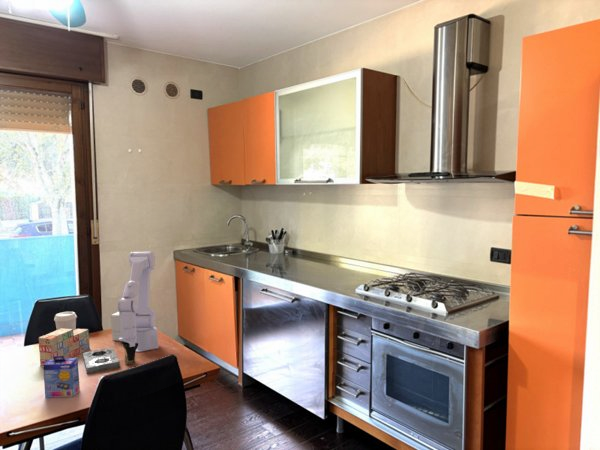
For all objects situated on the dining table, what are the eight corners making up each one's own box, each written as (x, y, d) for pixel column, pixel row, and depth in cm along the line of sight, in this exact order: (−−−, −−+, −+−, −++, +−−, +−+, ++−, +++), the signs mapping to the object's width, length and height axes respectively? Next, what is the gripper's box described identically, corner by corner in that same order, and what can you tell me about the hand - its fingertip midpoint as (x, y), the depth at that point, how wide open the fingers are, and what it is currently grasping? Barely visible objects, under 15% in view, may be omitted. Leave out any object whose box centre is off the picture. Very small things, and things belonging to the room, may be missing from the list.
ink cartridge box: (44, 398, 152) (41, 358, 151) (51, 391, 157) (49, 352, 156) (73, 397, 153) (71, 356, 152) (80, 390, 158) (78, 350, 157)
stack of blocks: (78, 348, 202) (77, 321, 201) (90, 349, 200) (88, 322, 199) (40, 366, 181) (38, 337, 180) (52, 367, 180) (50, 338, 179)
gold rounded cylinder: (134, 360, 185) (133, 344, 185) (136, 363, 182) (135, 347, 181) (124, 362, 183) (123, 346, 183) (126, 365, 180) (125, 349, 179)
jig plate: (113, 352, 195) (112, 347, 194) (119, 367, 178) (119, 361, 178) (83, 358, 188) (82, 352, 188) (87, 374, 172) (86, 367, 172)
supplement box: (134, 336, 217) (133, 311, 216) (125, 341, 210) (124, 315, 209) (121, 335, 218) (120, 310, 217) (111, 340, 211) (110, 314, 210)
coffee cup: (82, 344, 207) (81, 312, 206) (62, 350, 199) (60, 317, 198) (71, 340, 212) (69, 310, 211) (51, 346, 204) (49, 315, 203)
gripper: (115, 323, 186) (117, 355, 187) (121, 333, 173) (122, 366, 174) (133, 320, 189) (134, 351, 190) (139, 329, 177) (141, 362, 178)
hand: (130, 358), depth 182 cm, fingers closed on gold rounded cylinder, 4 cm apart
